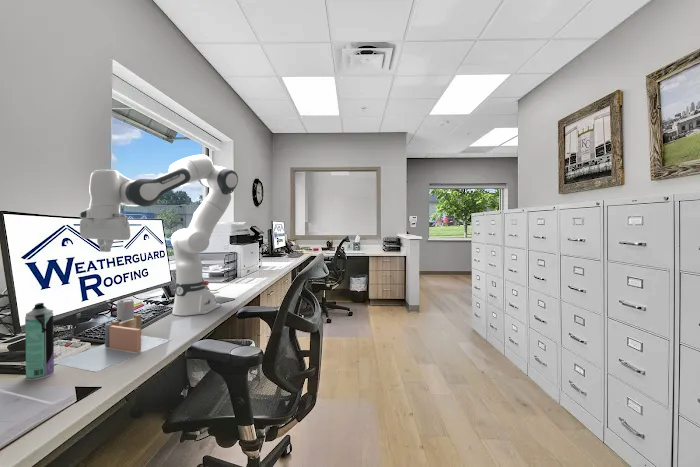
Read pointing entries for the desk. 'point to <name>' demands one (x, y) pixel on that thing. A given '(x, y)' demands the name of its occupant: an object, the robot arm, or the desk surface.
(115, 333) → the hinged fence panel
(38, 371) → the spray can
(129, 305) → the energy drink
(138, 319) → the fixed fence section
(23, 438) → the desk surface
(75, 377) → the desk surface
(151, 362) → the desk surface
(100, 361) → the card
